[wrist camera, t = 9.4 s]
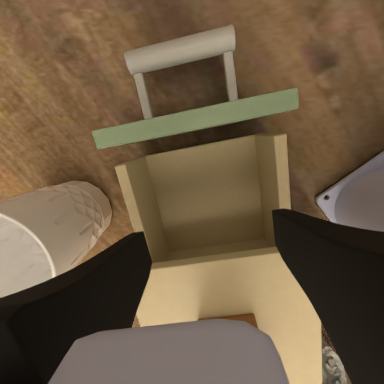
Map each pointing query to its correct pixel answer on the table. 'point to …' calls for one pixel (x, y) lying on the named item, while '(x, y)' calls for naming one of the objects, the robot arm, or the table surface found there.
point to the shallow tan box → (240, 302)
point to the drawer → (202, 161)
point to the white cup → (48, 232)
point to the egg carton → (331, 366)
